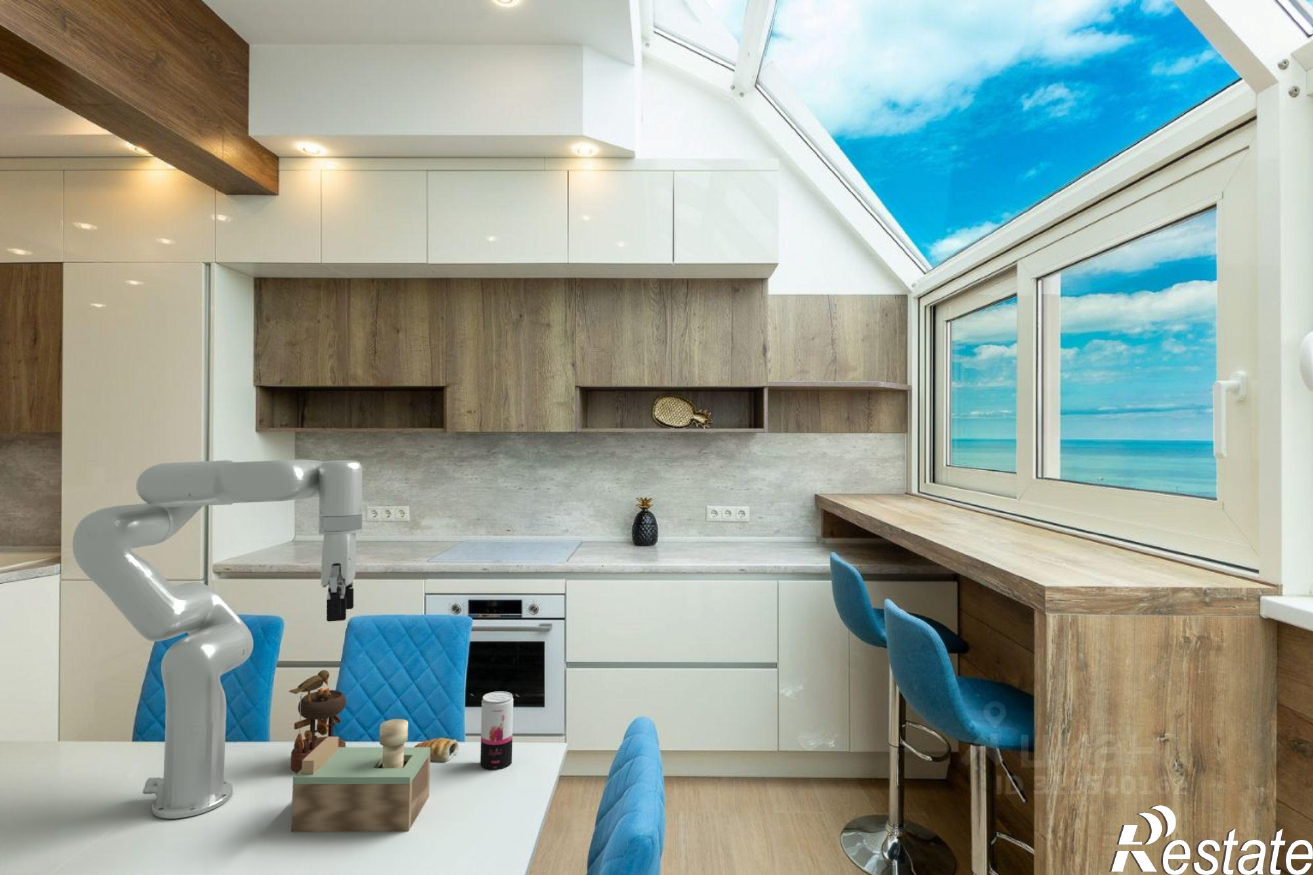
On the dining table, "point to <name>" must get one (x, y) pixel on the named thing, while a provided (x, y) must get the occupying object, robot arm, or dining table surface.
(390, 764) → the pin
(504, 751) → the beverage can
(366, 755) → the green box lid
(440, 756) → the pastry
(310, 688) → the music box
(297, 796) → the wooden box
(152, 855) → the dining table surface
